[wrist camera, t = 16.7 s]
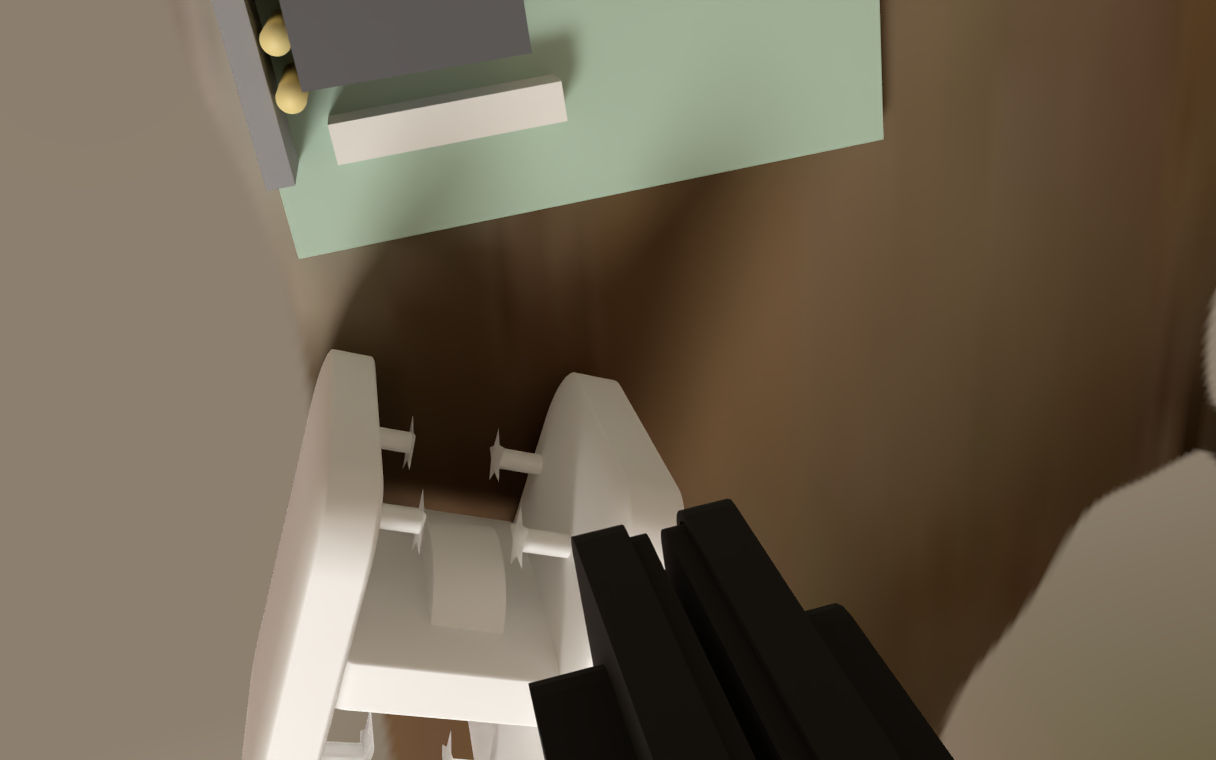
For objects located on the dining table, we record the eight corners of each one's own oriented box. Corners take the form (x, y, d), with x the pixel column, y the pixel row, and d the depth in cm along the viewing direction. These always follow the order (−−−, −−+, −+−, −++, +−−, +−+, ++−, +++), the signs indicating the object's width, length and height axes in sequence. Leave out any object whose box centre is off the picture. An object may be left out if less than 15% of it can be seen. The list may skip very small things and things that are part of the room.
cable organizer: (329, 300, 36) (325, 464, 26) (621, 360, 39) (721, 527, 29) (249, 661, 41) (217, 920, 31) (513, 688, 44) (566, 929, 34)
